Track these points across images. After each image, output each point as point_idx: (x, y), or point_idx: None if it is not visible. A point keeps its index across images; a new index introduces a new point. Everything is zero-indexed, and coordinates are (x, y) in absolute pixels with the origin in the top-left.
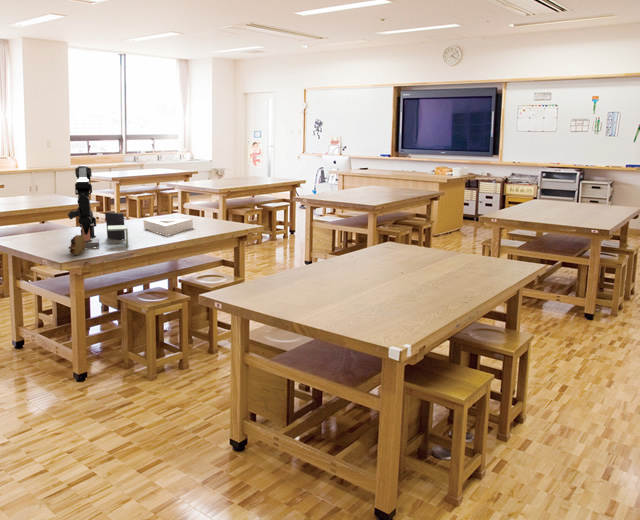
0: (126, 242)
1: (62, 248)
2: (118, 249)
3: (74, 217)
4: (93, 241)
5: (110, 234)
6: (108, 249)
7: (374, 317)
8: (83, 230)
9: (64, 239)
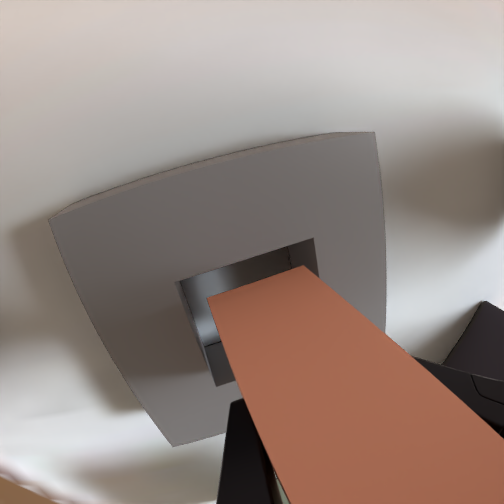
0: (281, 491)
1: (123, 38)
2: (141, 491)
3: None
4: (220, 398)
5: (487, 336)
6: (126, 462)
7: None
8: (262, 442)
9: (490, 44)
